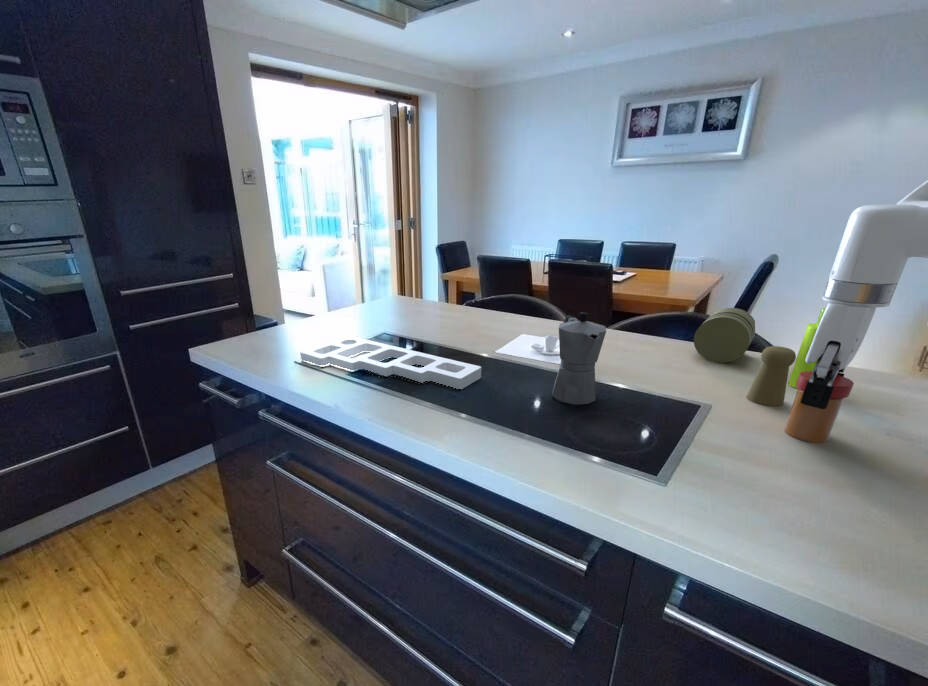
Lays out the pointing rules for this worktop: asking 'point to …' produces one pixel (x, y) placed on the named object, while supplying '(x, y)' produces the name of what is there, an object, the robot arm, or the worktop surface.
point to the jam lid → (840, 384)
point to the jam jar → (812, 420)
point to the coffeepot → (578, 360)
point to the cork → (772, 376)
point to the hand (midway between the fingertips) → (818, 398)
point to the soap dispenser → (805, 352)
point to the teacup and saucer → (534, 348)
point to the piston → (725, 335)
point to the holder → (393, 362)
